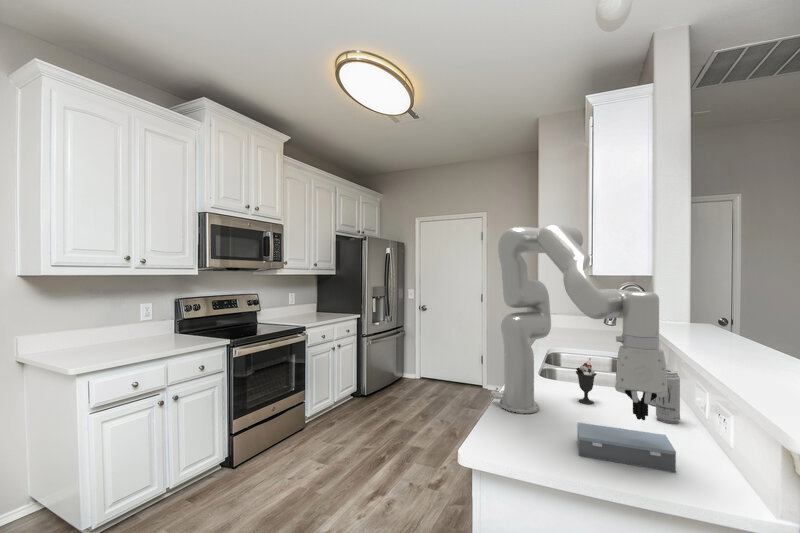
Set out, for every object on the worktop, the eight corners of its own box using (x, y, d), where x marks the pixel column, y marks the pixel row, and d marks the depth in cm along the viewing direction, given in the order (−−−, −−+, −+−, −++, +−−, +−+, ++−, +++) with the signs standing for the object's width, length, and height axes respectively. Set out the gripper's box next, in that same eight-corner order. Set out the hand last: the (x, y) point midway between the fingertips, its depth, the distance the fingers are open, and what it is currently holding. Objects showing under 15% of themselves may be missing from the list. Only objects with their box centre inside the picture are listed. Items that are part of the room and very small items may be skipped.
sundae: (597, 400, 134) (597, 358, 134) (595, 406, 128) (595, 362, 128) (577, 397, 137) (577, 355, 137) (574, 403, 131) (574, 359, 131)
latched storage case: (579, 456, 94) (579, 440, 94) (577, 440, 103) (577, 425, 103) (676, 473, 87) (676, 455, 87) (665, 454, 95) (665, 438, 95)
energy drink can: (652, 419, 117) (652, 370, 117) (660, 414, 121) (660, 367, 121) (675, 426, 112) (675, 375, 112) (682, 421, 116) (682, 371, 116)
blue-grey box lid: (578, 439, 95) (578, 436, 95) (577, 425, 103) (577, 422, 103) (675, 454, 87) (675, 451, 87) (665, 438, 95) (665, 434, 95)
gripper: (607, 342, 92) (606, 418, 92) (682, 348, 86) (681, 429, 86) (604, 337, 99) (604, 408, 99) (673, 342, 93) (673, 417, 93)
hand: (640, 417), depth 93 cm, fingers closed
